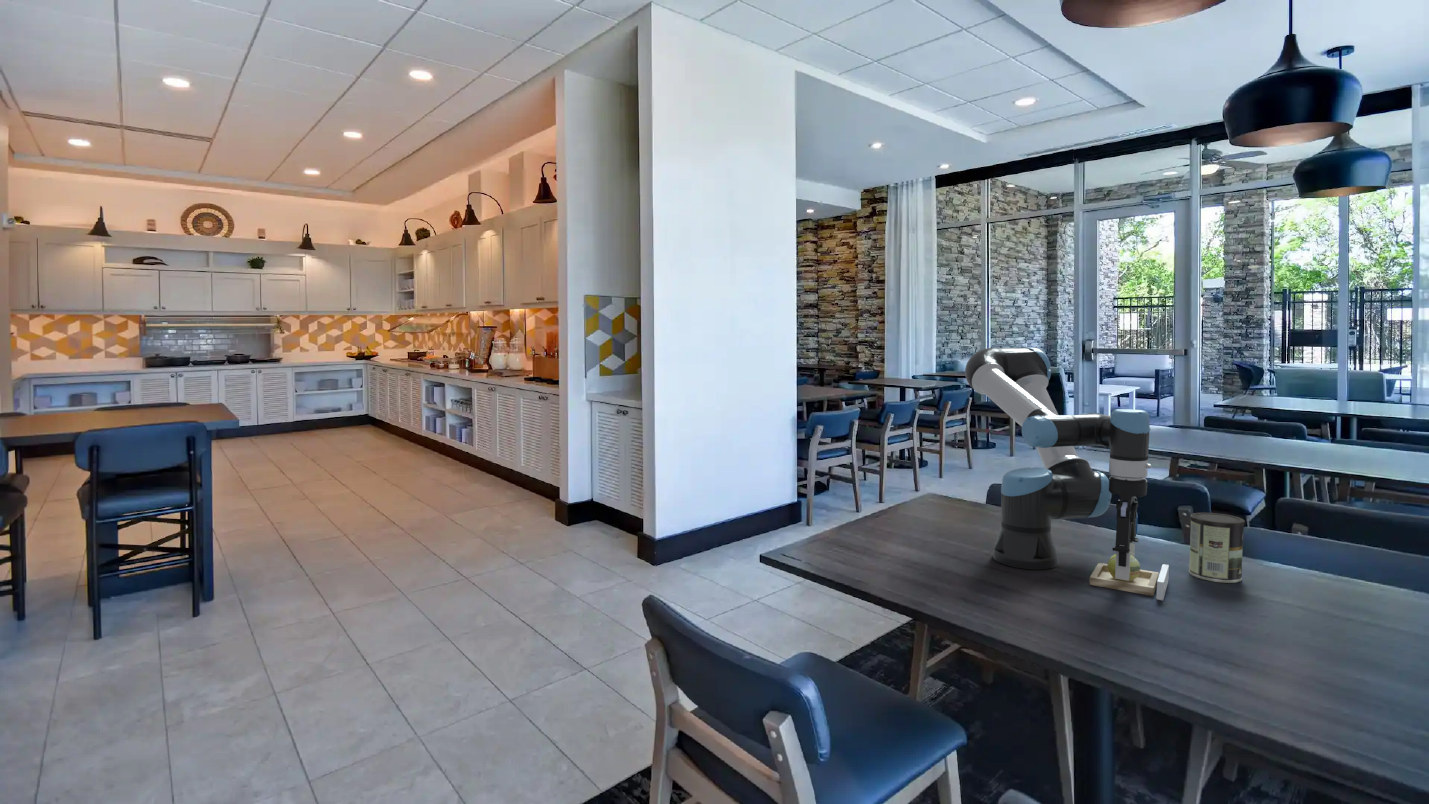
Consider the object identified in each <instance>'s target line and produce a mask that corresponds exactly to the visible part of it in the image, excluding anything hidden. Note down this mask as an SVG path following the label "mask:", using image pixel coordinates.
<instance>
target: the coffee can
mask: <svg viewBox="0 0 1429 804" xmlns="http://www.w3.org/2000/svg"><path fill="white" fill-rule="evenodd" d="M1245 521H1246V520H1244V519H1243V518H1242V517H1239V516H1235V515H1230V514H1226V513H1217V512H1216V513H1215V512H1195V513H1194V512H1193V513H1191V514H1190V538H1189V539H1190V540H1189V562H1188V563H1189V565H1188V568H1189V569H1188V573H1189V574H1190V575H1191V576H1193V577H1195V578H1198V579H1200V580H1205V581H1207V582H1208V581H1209V582H1214V583H1215V582H1216V583H1220V584H1221V583H1224V584H1225V583H1226V584H1231V583H1232V584H1237V583H1239V582H1242V580H1243V577H1242V575H1243V574H1242V572H1243V547H1244V531H1245V530H1244V526H1245V523H1246V522H1245Z"/></svg>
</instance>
